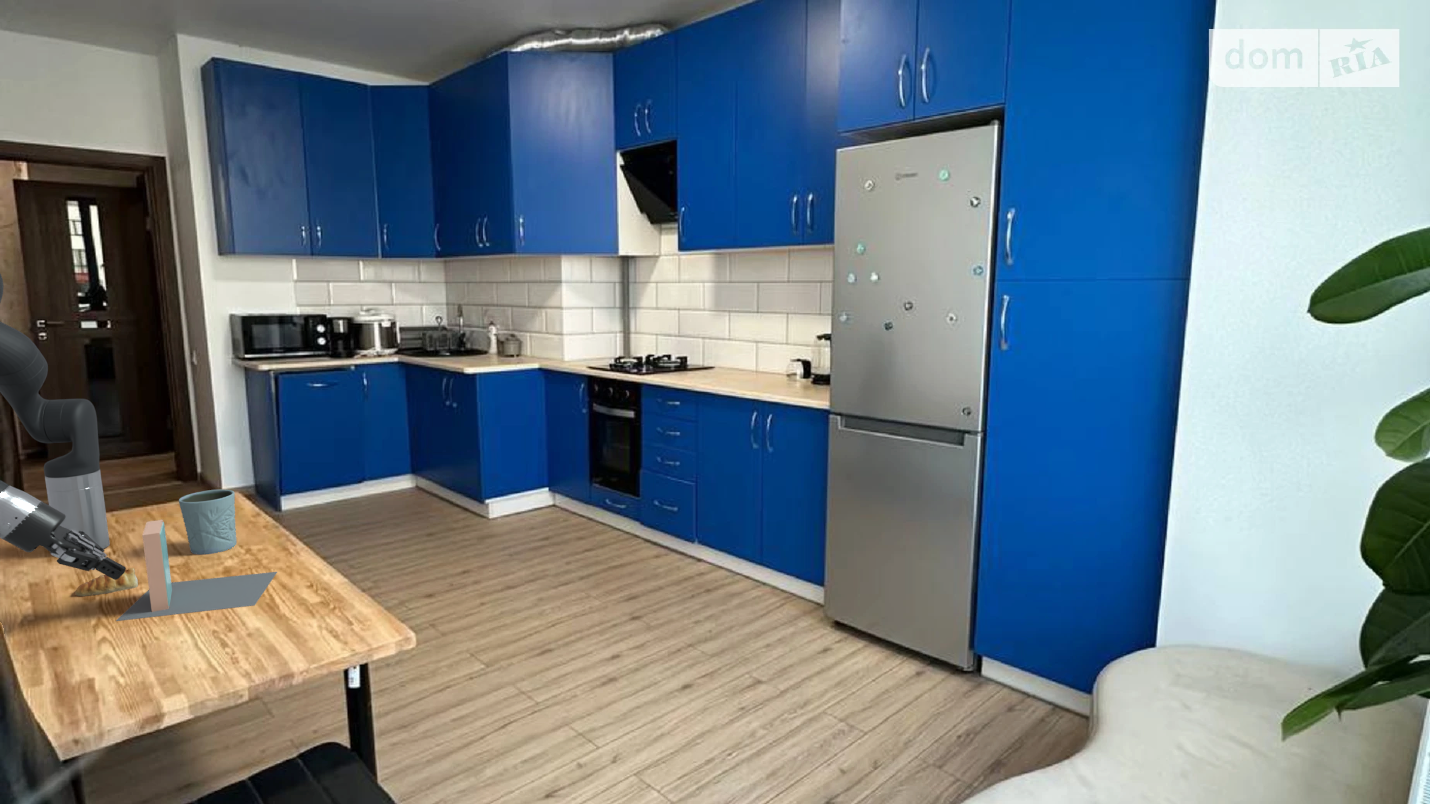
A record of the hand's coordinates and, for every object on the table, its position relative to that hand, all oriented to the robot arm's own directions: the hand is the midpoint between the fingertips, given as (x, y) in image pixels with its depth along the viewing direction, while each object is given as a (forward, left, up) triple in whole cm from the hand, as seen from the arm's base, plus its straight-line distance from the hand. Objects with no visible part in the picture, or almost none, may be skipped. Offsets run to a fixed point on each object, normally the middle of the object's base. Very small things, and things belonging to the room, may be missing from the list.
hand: (121, 574), depth 135 cm
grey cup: (-33, +4, -7) cm, 34 cm away
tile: (-1, +5, -6) cm, 8 cm away
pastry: (-12, -7, -7) cm, 16 cm away
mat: (-3, +11, -7) cm, 13 cm away
